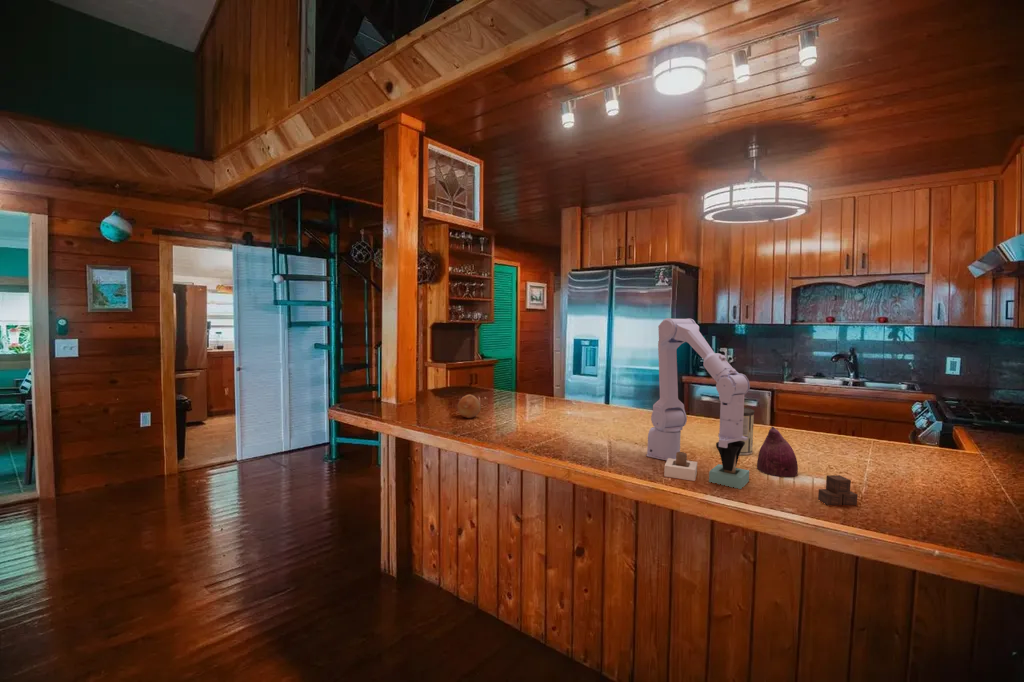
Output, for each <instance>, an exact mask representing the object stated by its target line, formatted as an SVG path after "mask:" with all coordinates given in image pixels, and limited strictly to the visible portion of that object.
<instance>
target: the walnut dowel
mask: <svg viewBox="0 0 1024 682" xmlns="http://www.w3.org/2000/svg"><path fill="white" fill-rule="evenodd" d="M687 457H688V453H687V452H683V451H680V452H677V453H676V466H684V467H686V464H687V461H688V458H687Z"/></svg>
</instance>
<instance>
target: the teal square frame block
mask: <svg viewBox="0 0 1024 682" xmlns="http://www.w3.org/2000/svg"><path fill="white" fill-rule="evenodd" d="M749 481H750V470H748V469H745V468H739V467H736V471H735V474H730V473H726V472H724V469H723V466H722V464H719V463H718V464H717V465H715V466H713V468H711V469H710V470H709V472H708V483H711V482H712V483H713V484H715V483H717V484H716V485H720V484H721V485H720V486H724V485H725V487H728V486H729V488H733V487H734V488H733V489H737V488H738V490H742V489H743V488H744V487H745V486H746V485H747V484H749ZM742 487H743V488H742Z"/></svg>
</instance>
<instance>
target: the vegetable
mask: <svg viewBox="0 0 1024 682" xmlns="http://www.w3.org/2000/svg"><path fill="white" fill-rule="evenodd" d="M756 462H757V463H756V468H757V469H758V470H759V472H760V473H763V474H765V475H769V474H770V476H774V475H775V477H782V478H787V477H788V478H790V477H791V478H793V477H797V475H798V471H799V466H798V460H797V457H796V454H795V451H794V449H793V447H792V446H791V445H790V443H789V442H788V441H787V440H786V438H784V436H783V435H782V433H780V431H779V430H778V429H777V428H775V427H774V426H772V425H771V428H770V429H768V433H767V435H766V437H765V440H763V443H762V445H761V446H760V448H759V451H758V455H757V461H756Z"/></svg>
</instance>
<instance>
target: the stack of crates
mask: <svg viewBox="0 0 1024 682" xmlns="http://www.w3.org/2000/svg"><path fill="white" fill-rule="evenodd" d="M825 479H826V483H825V488H819V489H818V491H817V492H818V493H817V494H818V495H817V496H818V497H817V501H818V500H820V501H822V502H823V503H822V502H821V503H822V504H824V503H825V504H827V505H857V506H858V495H859V494H858V493H855V492H854V491H851V485H852V483H851V482H852V481H851V479H849V478H847V477H844V476H842V475H840V474H839V475H838V474H837V475H831V474H830V475H826V477H825ZM820 501H819V502H820ZM825 504H824V505H825ZM827 505H826V506H827Z"/></svg>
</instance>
